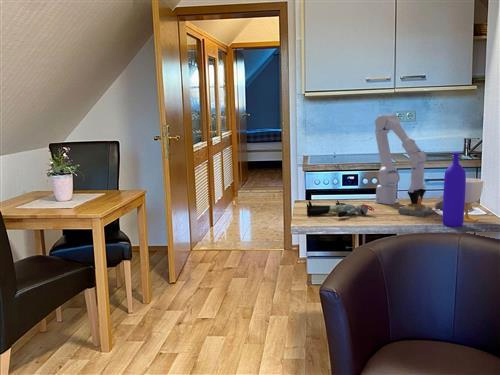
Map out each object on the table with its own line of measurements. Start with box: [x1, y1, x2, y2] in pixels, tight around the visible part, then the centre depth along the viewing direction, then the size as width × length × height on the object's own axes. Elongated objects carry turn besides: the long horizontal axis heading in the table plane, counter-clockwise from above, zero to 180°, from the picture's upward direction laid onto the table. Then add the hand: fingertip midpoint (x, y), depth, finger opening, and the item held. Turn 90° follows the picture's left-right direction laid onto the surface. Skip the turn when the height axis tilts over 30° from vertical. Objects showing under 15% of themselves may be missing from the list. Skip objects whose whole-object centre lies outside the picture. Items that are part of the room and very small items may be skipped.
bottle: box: [442, 151, 467, 228], centre depth 209 cm, size 8×8×30 cm
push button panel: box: [398, 203, 433, 218], centre depth 233 cm, size 12×9×4 cm
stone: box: [434, 194, 474, 212], centre depth 241 cm, size 17×10×10 cm
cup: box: [463, 177, 484, 222], centre depth 220 cm, size 12×12×17 cm
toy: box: [306, 199, 375, 218], centre depth 235 cm, size 26×8×30 cm
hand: (416, 205), depth 244 cm, fingers closed on can, 4 cm apart
